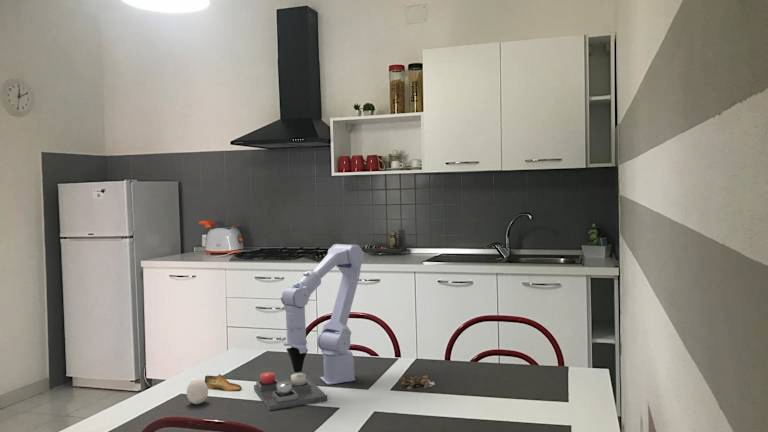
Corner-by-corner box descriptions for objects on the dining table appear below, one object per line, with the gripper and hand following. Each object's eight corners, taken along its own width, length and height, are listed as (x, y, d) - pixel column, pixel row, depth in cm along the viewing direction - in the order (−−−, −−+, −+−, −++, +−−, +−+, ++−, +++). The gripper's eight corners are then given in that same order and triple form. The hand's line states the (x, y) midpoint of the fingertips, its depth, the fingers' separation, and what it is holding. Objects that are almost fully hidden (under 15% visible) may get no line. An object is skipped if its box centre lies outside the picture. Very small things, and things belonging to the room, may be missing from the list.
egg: (209, 399, 196) (208, 374, 195) (207, 406, 190) (206, 380, 189) (188, 401, 195) (187, 376, 194) (186, 408, 189) (184, 382, 188)
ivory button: (303, 380, 201) (303, 372, 200) (307, 384, 197) (307, 376, 196) (289, 382, 199) (289, 374, 199) (293, 386, 195) (293, 378, 195)
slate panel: (306, 381, 210) (306, 372, 210) (327, 400, 190) (326, 390, 190) (254, 389, 203) (253, 380, 203) (269, 410, 184) (269, 400, 184)
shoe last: (237, 393, 201) (236, 378, 201) (202, 388, 207) (201, 373, 207) (245, 389, 205) (245, 374, 205) (211, 384, 211) (210, 370, 211)
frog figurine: (407, 394, 195) (407, 381, 195) (391, 383, 206) (391, 371, 206) (442, 388, 199) (441, 376, 199) (424, 378, 210) (424, 366, 210)
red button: (273, 379, 203) (273, 371, 203) (276, 382, 199) (276, 374, 199) (259, 381, 201) (259, 373, 201) (262, 385, 197) (262, 377, 197)
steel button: (290, 389, 192) (289, 381, 192) (294, 393, 188) (293, 385, 188) (275, 391, 191) (274, 383, 190) (279, 396, 187) (278, 387, 186)
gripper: (277, 324, 202) (279, 367, 203) (289, 333, 189) (291, 379, 189) (299, 321, 205) (301, 364, 205) (312, 330, 191) (314, 376, 192)
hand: (297, 371), depth 197 cm, fingers closed
